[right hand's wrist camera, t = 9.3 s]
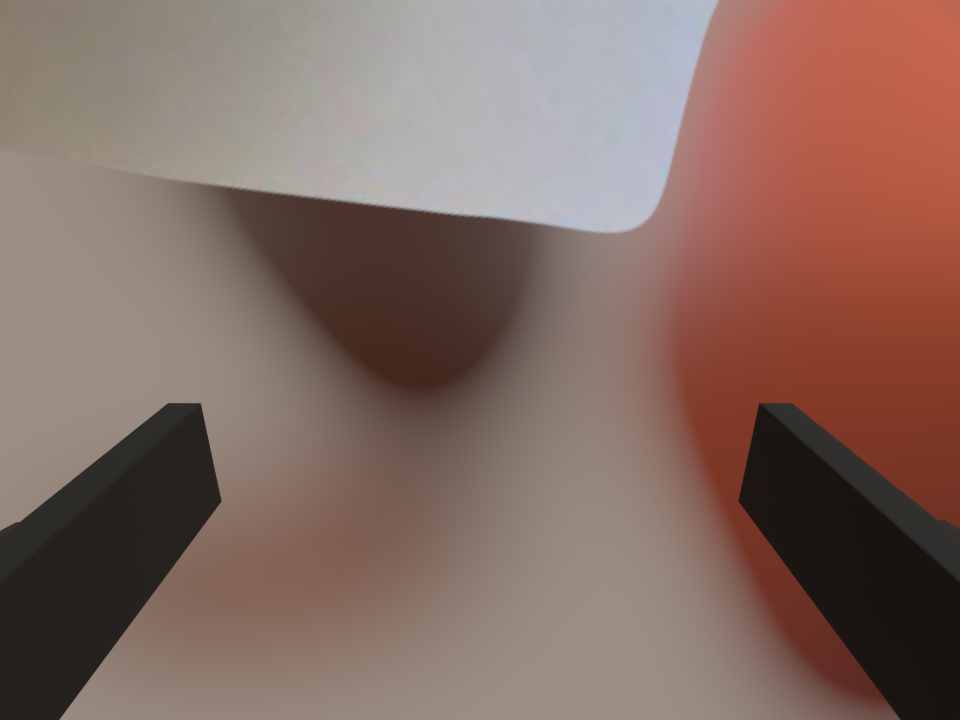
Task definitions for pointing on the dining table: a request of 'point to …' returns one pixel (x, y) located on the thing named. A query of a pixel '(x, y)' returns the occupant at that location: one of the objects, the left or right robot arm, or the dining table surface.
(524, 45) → the dining table surface
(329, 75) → the dining table surface
